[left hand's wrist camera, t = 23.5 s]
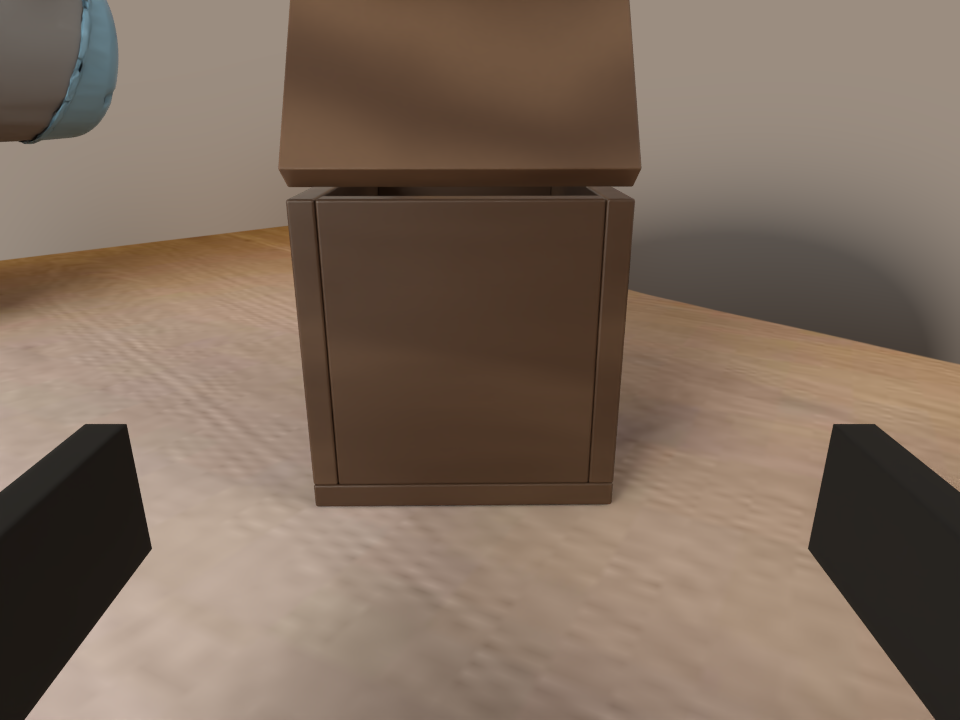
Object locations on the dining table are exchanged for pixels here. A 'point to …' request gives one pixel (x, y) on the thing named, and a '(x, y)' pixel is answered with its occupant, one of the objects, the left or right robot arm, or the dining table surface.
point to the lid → (459, 94)
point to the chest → (461, 341)
